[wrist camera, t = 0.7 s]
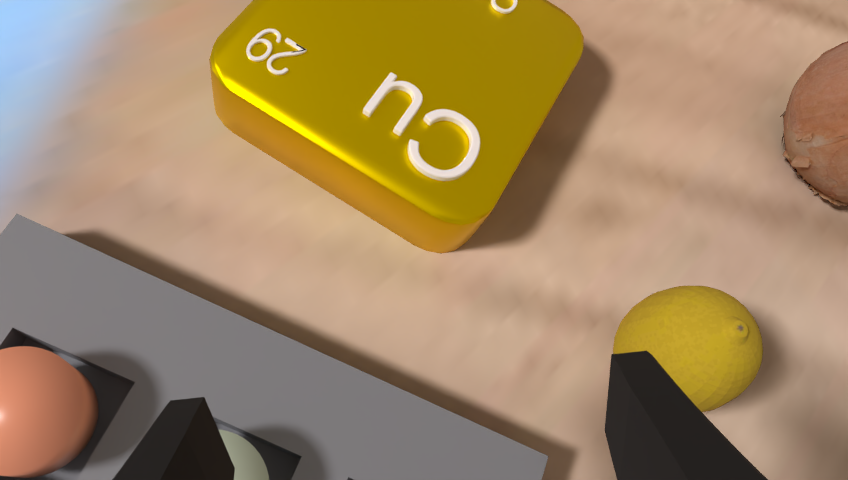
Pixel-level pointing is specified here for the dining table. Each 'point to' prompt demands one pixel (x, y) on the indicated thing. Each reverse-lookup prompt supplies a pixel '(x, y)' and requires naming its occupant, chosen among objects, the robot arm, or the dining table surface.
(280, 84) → the element tile
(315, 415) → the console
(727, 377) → the lemon
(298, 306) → the dining table surface
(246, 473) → the button sage
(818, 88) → the onion
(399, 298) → the dining table surface
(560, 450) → the dining table surface
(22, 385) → the button terracotta
